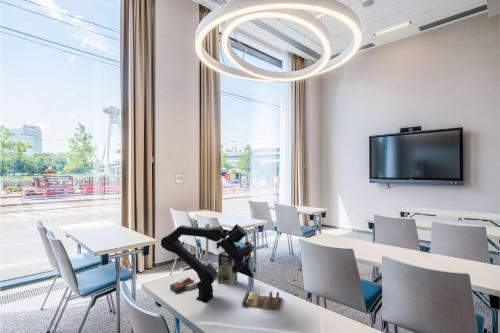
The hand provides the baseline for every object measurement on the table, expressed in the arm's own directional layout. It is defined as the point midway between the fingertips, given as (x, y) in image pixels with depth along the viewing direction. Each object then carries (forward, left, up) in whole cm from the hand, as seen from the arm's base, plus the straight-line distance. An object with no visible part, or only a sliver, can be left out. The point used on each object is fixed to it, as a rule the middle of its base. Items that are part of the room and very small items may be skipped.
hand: (254, 274), depth 128 cm
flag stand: (-42, +14, -14) cm, 46 cm away
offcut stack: (0, 0, -13) cm, 13 cm away
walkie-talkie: (-39, -4, -14) cm, 42 cm away
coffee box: (-24, +11, -14) cm, 29 cm away
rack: (+4, +2, -13) cm, 14 cm away
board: (-1, -1, -7) cm, 7 cm away
